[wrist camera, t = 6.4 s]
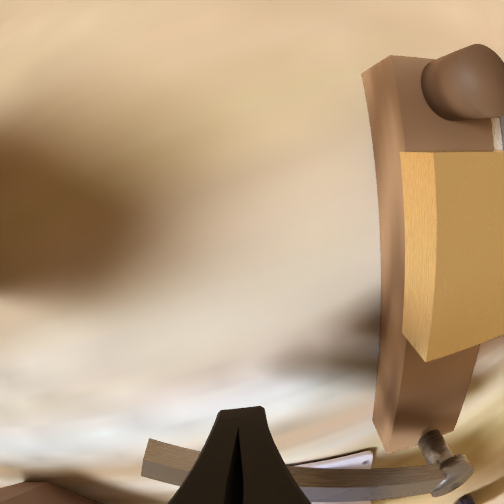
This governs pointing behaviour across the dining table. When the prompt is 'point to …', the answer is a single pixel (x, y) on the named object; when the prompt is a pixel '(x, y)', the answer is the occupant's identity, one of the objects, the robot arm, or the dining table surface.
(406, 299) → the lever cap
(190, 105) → the dining table surface
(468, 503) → the flask
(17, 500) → the brown round pot
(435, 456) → the lever
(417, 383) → the body
